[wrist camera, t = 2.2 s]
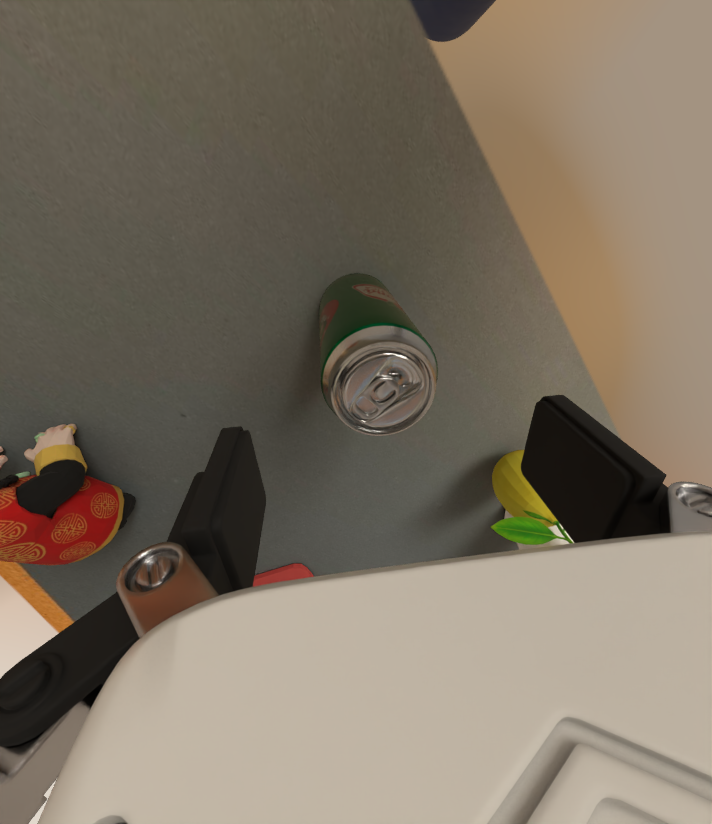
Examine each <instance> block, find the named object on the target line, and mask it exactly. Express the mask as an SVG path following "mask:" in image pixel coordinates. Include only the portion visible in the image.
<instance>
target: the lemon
mask: <svg viewBox="0 0 712 824" xmlns="http://www.w3.org/2000/svg"><path fill="white" fill-rule="evenodd" d="M523 454H524V450H517V451H513V452H510V453H508V454H506V455H504V456H503V457H502V458H501V459H500V460H499V461H498V463H497V464H496V466H495V467H494V470H493V474H492V484H493V489H494V492H495V494H496V496H497V498H498V499H499V501H500V502H501V504H502V505H503V507H504V508H505V509H506V511H507V512H508V513H509V514H511V515H512V516H513V517H512V518H506V519H503V520H501V521H499V522H497V523H496V524H494V525H493V526H491V528H492V529H493V530H494V531H496V532H497V533H498V534H499V535H501V536H502V537H504V538H506V539H508V540H510V541H513V542H516V543H520V544H525V545H539V544H545V543H547V542H549V541H551V540H553V539H556V538H558V539H563V540H566V541H568V542H569V543H570V544H571V543H573V542H572V541H571V539H570V538H569V537H568V536H567V534H566V533H565V530H564V529H562V528H561V526H560V524H559V522H558V520H557V519H556V518H555V517H554V515H553V514H552V513H551V511H550V510H549V509H548V507H547V506H546V505H545V503H544V502H543V501H542V500H541V498H540V497H539V496H538V494H537V493H536V492H535V490H534V489H533V488H532V486H531V485H530V484H529V483H528V481H527V480H526V479H525V477H524V476H523V474H522V472H521V462H522V458H523ZM555 525H556V526H557V528H558V529H559V531H560V532H561V534H562V535H563V536H564V537H565V538H563V537H559V536H557V535H555V534H554V533H553V532H552V531H551V530H550V529H549V528H548V527H552V526H555Z"/></svg>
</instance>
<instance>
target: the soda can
mask: <svg viewBox="0 0 712 824" xmlns="http://www.w3.org/2000/svg"><path fill="white" fill-rule="evenodd" d="M319 330H320V373H321V388H322V393H323V396H324V399H325V401H326V403H327V405H328V406H329V408H330V409H331V410H332V411H333V413H335V414H336V415H337V416H338V417H339V418H340V419H341V421H343V422H344V423H345V424H346V425H347V426H348V427H350V428H351V429H353V430H355V431H357V432H360V433H363V434H366V435H373V436H384V435H391V434H395V433H398V432H401V431H403V430H405V429H407V428H409V427H411V426H412V425H414V424H415V423H417V422H418V421H419V420H420V419H421V418H422V417H423V416H424V415H425V413H426V412H427V411H428V409H429V408H430V406H431V404H432V402H433V399H434V396H435V392H436V383H437V377H438V367H437V361H436V357H435V354H434V352H433V350H432V348H431V346H430V345H429V344H428V342H427V341H426V340H425V338H424V337H423V336H422V334H421V333H420V332H419V330H418V329H417V328H416V326H415V325H414V324H413V322H412V321H411V320H410V318H409V317H408V316H407V315H406V313H405V312H404V311H403V309H402V308H401V307H400V305H399V304H398V303H397V301H396V300H395V299H394V297H393V296H392V295H391V293H390V292H389V291H388V289H387V288H386V287H385V285H384V284H383V283H381V282H380V281H379V280H378V279H376V278H374V277H372V276H370V275H366V274H361V273H354V274H348V275H345V276H342V277H340V278H338V279H337V280H335V281H334V282H333V283H332V284H331V285H329V287H328V288H327V289H326V291H325V292H324V294H323V296H322V299H321V301H320V306H319Z"/></svg>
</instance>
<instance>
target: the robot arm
mask: <svg viewBox="0 0 712 824" xmlns="http://www.w3.org/2000/svg"><path fill="white" fill-rule="evenodd" d="M521 472H522V474H523V476H524V477H525V479H526V480H527V481H528V483H529V484H530V485H531V486H532V488H533V489H534V490H535V492H536V493H537V494H538V496H539V497H540V498H541V500H542V501H543V502H544V503H545V505H546V506H547V507H548V509H549V510H550V511H551V513H552V514H553V515H554V517H555V518H556V519H557V520H558V522H559V523H560V524H561V526H562V527H563V528H564V530H565V531H566V532H567V534H568V535H569V536H570V538H571V539H572V540H573V541H574V543H571V544H563V545H555V546H547V547H538V548H530V549H522V550H514V551H506V552H498V553H490V554H482V555H474V556H466V557H458V558H450V559H443V560H435V561H427V562H419V563H411V564H404V565H396V566H389V567H381V568H374V569H366V570H358V571H351V572H343V573H336V574H329V575H322V576H315V577H309V578H302V579H295V580H288V581H282V582H275V583H270V584H265V585H260V586H255V587H253V582H254V576H255V569H256V563H257V557H258V550H259V544H260V537H261V531H262V525H263V518H264V512H265V506H266V496H265V491H264V487H263V483H262V479H261V475H260V471H259V467H258V463H257V459H256V455H255V451H254V447H253V443H252V439H251V435H250V432H249V431H248V430H246V431H244V430H243V428H242V427H241V426H240V427H230V428H223V429H222V430H221V432H220V434H219V437H218V439H217V442H216V444H215V447H214V449H213V452H212V454H211V457H210V459H209V462H208V464H207V467H206V469H205V472H199V473H197V474H196V475H195V477H194V479H193V481H192V484H191V486H190V488H189V491H188V493H187V495H186V498H185V500H184V502H183V505H182V507H181V509H180V512H179V514H178V516H177V519H176V521H175V523H174V526H173V528H172V530H171V533H170V535H169V537H168V540H167V542H162V543H158V544H154V545H151V546H149V547H147V548H145V549H143V550H141V551H140V552H138V553H137V554H136V555H134V556H133V557H132V558H131V559H130V560H129V561H128V562H127V563H126V564H125V565H124V566H123V568H122V570H121V571H120V573H119V574H118V578H117V582H116V587H117V592H116V593H115V594H114V595H112V596H111V597H109V598H108V599H107V600H105V601H104V602H102V603H101V604H100V605H98V606H97V607H95V608H94V609H93V610H91V611H90V612H88V613H87V614H86V615H84V616H83V617H81V618H80V619H79V620H77V621H76V622H74V623H73V624H72V625H70V626H69V627H67V628H66V629H65V630H63V631H62V632H60V633H59V634H58V635H56V636H55V637H54V638H52V639H51V640H49V641H48V642H46V643H45V644H44V645H42V646H41V647H39V648H38V649H36V650H35V651H34V652H32V653H31V654H29V655H28V656H27V657H25V658H24V659H22V660H21V661H20V662H19V663H17V664H16V665H15V666H14V667H12V668H11V669H10V670H9V671H7V672H6V673H5V674H4V675H3V676H2V678H1V679H0V824H28V823H29V822H30V821H31V819H32V818H33V817H34V816H35V814H36V813H37V812H38V810H39V809H40V808H41V806H42V805H43V804H44V803H45V801H46V800H47V798H46V797H45V796H43V795H44V794H45V793H46V791H47V790H48V789H49V788H50V786H51V785H52V784H53V783H54V781H55V780H56V779H57V780H56V783H55V785H54V787H53V789H52V792H51V794H50V796H49V798H48V801H47V803H46V805H45V808H44V810H43V812H42V814H41V817H40V819H39V821H38V823H37V824H712V488H711V487H708V486H705V485H702V484H698V483H692V482H676V483H673V484H671V485H670V486H669V487H666V486H665V485H664V484H663V481H664V479H665V477H666V474H665V473H663V472H662V471H661V470H659V469H658V468H657V467H655V466H654V465H653V464H651V463H650V462H649V461H648V460H646V459H645V458H644V457H643V456H641V455H640V454H639V453H637V452H636V451H635V450H634V449H632V448H631V447H630V446H628V445H627V444H626V443H625V442H623V441H622V440H621V439H619V438H618V437H617V436H616V435H614V434H613V433H612V432H610V431H609V430H608V429H607V428H605V427H604V426H603V425H601V424H600V423H599V422H598V421H596V420H595V419H594V418H592V417H591V416H590V415H589V414H587V413H586V412H585V411H583V410H582V409H581V408H579V407H578V406H577V405H576V404H574V403H573V402H572V401H570V400H569V399H568V398H567V397H565V396H563V395H555V396H545V397H543V398H542V399H541V400H540V401H539V402H537V403H536V406H535V409H534V413H533V417H532V421H531V425H530V429H529V433H528V437H527V442H526V446H525V450H524V454H523V458H522V462H521ZM57 777H58V778H57Z"/></svg>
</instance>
